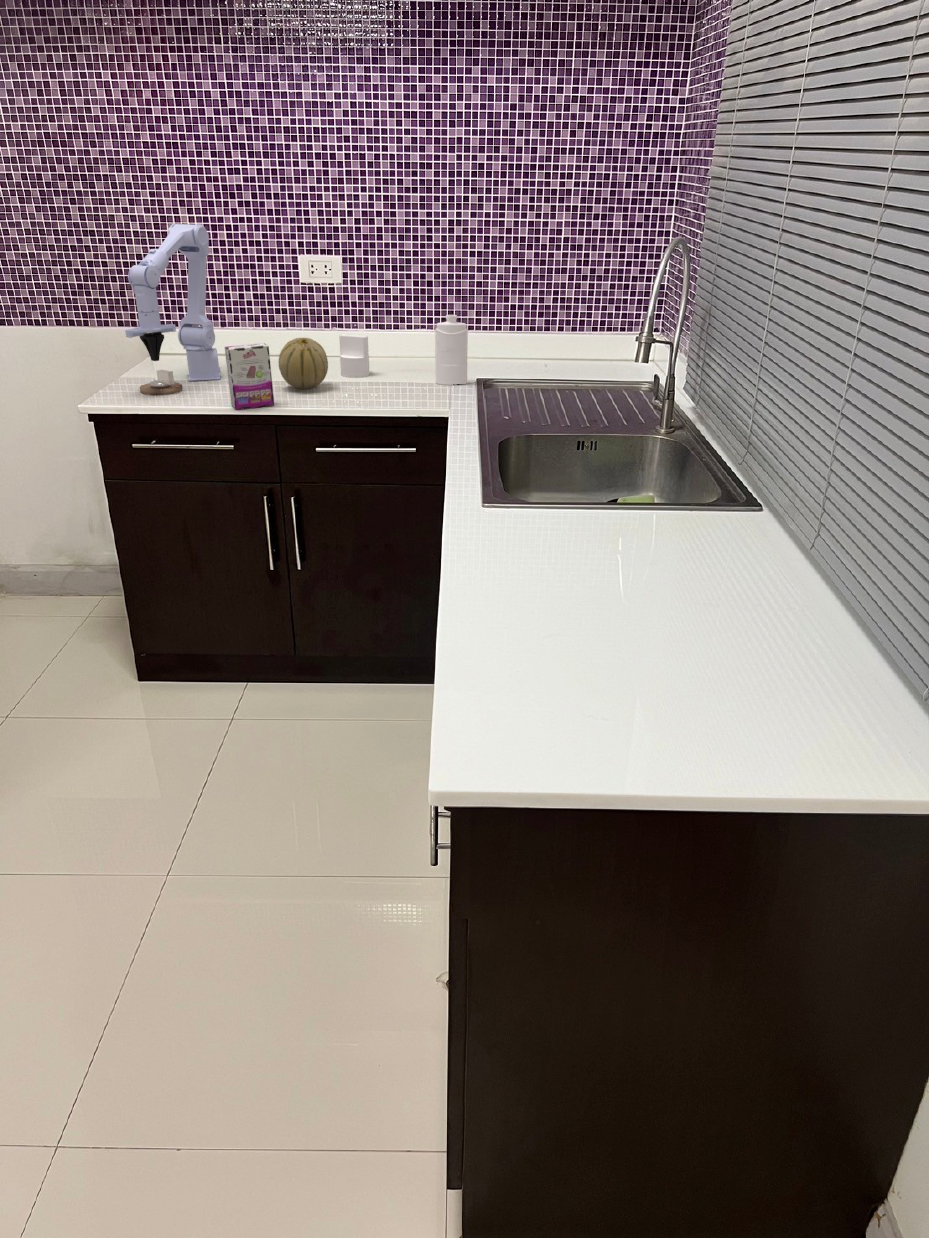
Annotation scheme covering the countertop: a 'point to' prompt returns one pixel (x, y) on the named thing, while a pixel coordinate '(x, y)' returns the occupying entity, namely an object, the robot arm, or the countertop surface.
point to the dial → (163, 379)
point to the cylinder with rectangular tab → (354, 356)
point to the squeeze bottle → (451, 352)
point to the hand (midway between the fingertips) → (155, 360)
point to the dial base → (161, 389)
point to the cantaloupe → (303, 363)
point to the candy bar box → (249, 376)
